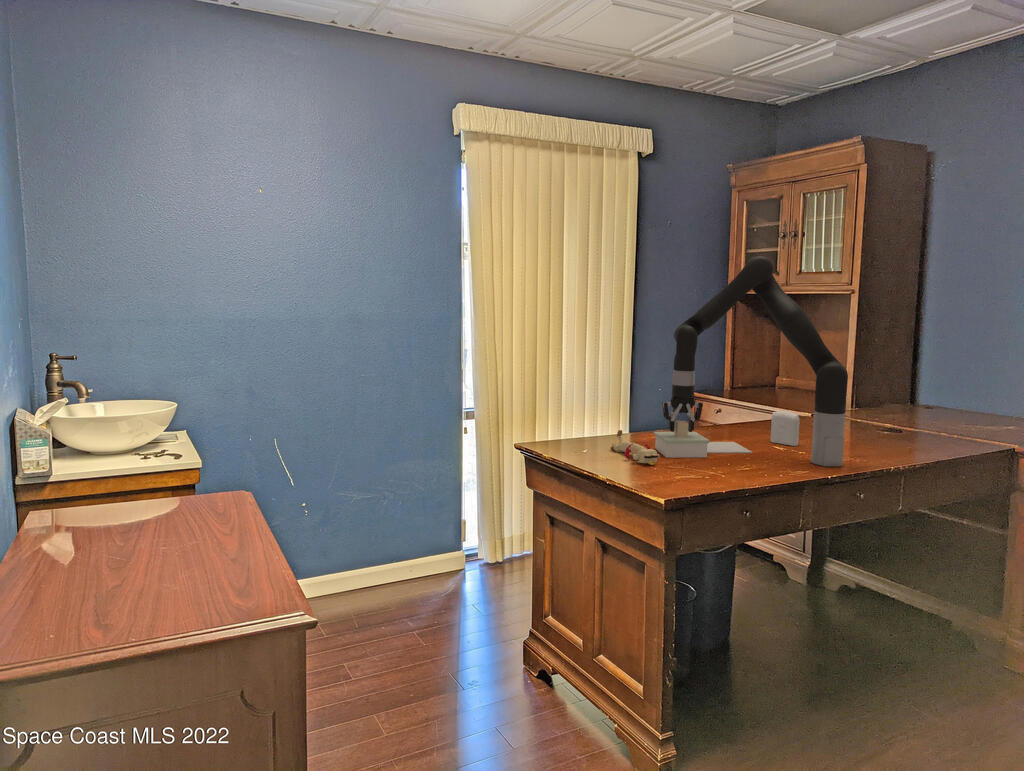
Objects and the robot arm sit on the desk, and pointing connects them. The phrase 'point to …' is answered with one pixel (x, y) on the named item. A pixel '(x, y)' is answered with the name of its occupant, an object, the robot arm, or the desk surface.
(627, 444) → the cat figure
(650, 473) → the desk surface
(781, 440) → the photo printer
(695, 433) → the lid
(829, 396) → the robot arm
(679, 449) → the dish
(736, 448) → the mat
